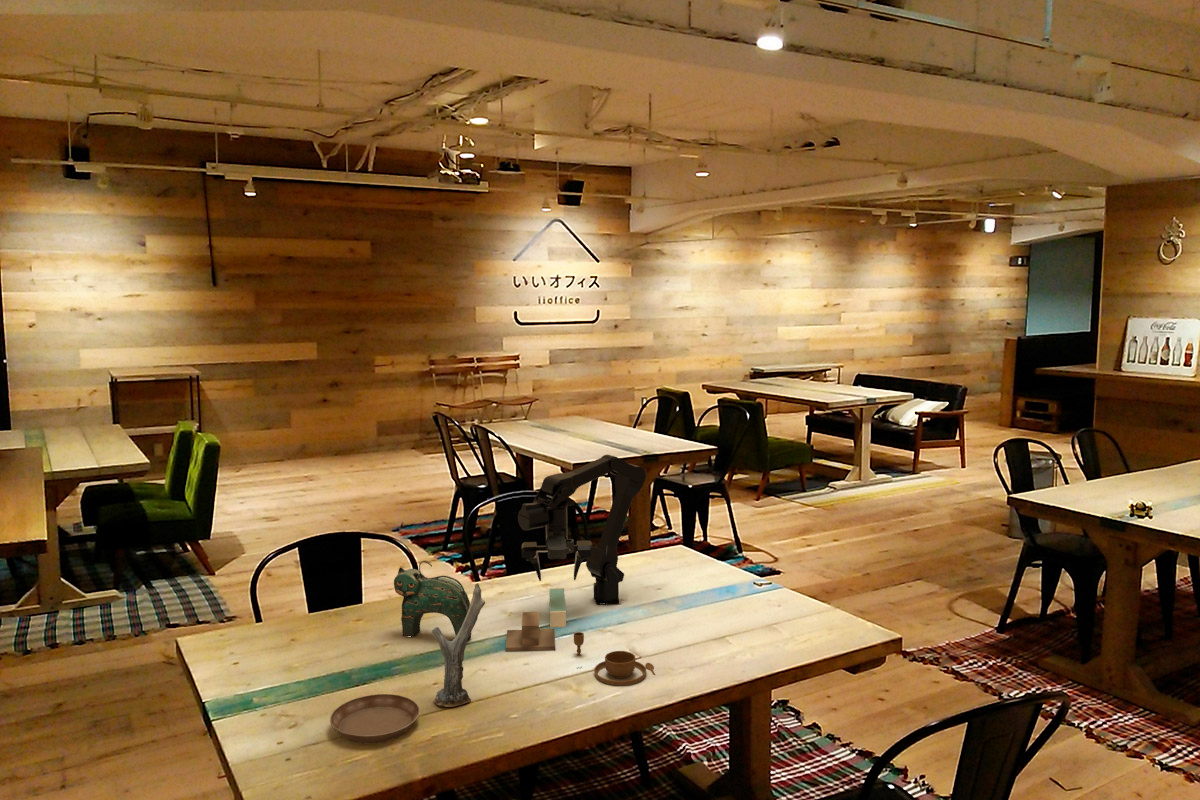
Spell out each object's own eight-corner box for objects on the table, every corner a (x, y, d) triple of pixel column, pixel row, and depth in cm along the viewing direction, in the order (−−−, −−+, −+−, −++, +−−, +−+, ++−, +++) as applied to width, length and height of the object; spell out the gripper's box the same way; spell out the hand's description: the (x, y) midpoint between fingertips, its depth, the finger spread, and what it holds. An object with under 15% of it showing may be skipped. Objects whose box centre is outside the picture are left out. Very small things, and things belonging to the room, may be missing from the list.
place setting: (587, 692, 202) (587, 667, 201) (569, 655, 222) (569, 632, 221) (663, 684, 206) (663, 659, 205) (639, 648, 225) (639, 625, 225)
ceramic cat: (394, 637, 232) (391, 561, 229) (406, 627, 238) (404, 553, 235) (466, 646, 226) (463, 568, 223) (477, 636, 232) (475, 560, 229)
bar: (549, 602, 256) (549, 588, 255) (564, 601, 256) (564, 587, 255) (550, 627, 238) (550, 612, 237) (566, 627, 238) (565, 612, 237)
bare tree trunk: (439, 711, 193) (436, 597, 189) (428, 696, 200) (424, 586, 196) (491, 699, 198) (488, 588, 194) (478, 685, 205) (475, 577, 201)
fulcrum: (554, 632, 234) (554, 609, 233) (555, 650, 223) (554, 626, 222) (507, 633, 233) (506, 611, 233) (505, 651, 223) (505, 628, 222)
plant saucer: (426, 705, 196) (425, 692, 196) (412, 748, 179) (411, 734, 178) (342, 707, 196) (342, 693, 195) (320, 750, 178) (319, 736, 178)
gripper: (520, 533, 235) (521, 591, 237) (593, 531, 236) (593, 589, 238) (521, 521, 246) (522, 577, 248) (591, 519, 247) (591, 575, 249)
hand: (557, 580), depth 245 cm, fingers open, 9 cm apart
